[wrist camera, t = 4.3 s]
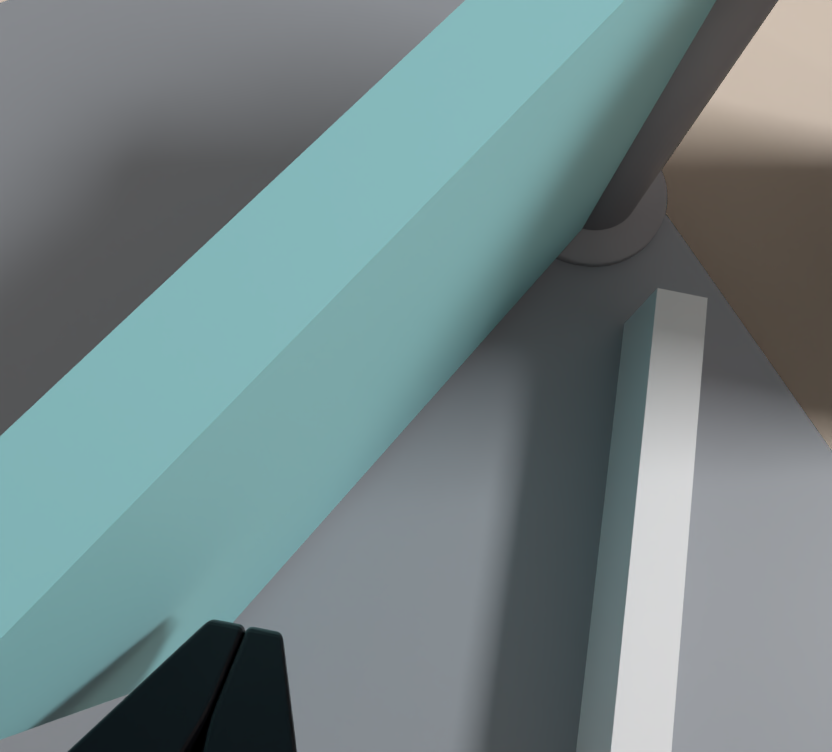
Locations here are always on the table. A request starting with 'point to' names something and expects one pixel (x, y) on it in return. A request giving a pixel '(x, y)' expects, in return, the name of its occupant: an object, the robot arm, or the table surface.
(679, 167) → the table surface
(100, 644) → the door
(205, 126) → the base board
